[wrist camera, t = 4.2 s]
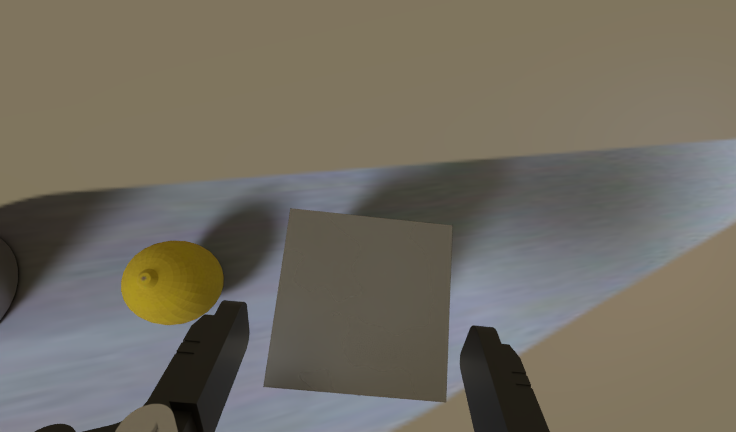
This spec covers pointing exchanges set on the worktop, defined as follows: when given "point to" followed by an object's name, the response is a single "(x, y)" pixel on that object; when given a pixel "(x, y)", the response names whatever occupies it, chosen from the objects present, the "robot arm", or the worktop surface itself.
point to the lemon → (172, 282)
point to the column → (362, 307)
